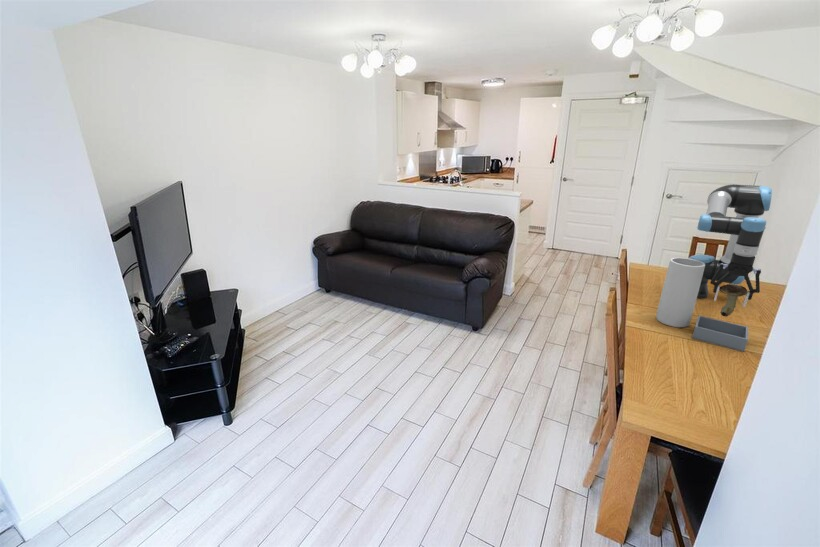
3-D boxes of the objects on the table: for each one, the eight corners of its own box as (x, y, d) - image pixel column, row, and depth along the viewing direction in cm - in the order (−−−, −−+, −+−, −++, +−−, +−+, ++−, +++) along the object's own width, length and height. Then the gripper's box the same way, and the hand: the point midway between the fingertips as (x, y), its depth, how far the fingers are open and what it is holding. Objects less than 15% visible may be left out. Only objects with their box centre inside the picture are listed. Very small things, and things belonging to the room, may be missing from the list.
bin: (695, 326, 188) (698, 315, 186) (744, 338, 177) (748, 326, 175) (691, 338, 177) (695, 326, 175) (744, 352, 166) (748, 339, 164)
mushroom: (742, 321, 168) (753, 290, 162) (720, 319, 169) (730, 288, 164) (730, 312, 176) (740, 282, 171) (709, 310, 178) (718, 280, 173)
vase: (686, 318, 196) (702, 259, 185) (692, 330, 184) (709, 268, 173) (653, 313, 202) (667, 255, 191) (657, 324, 189) (672, 264, 179)
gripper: (711, 251, 167) (698, 298, 174) (779, 261, 154) (762, 312, 161) (712, 247, 172) (699, 293, 180) (778, 257, 159) (761, 306, 167)
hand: (729, 302), depth 171 cm, fingers closed on mushroom, 9 cm apart
